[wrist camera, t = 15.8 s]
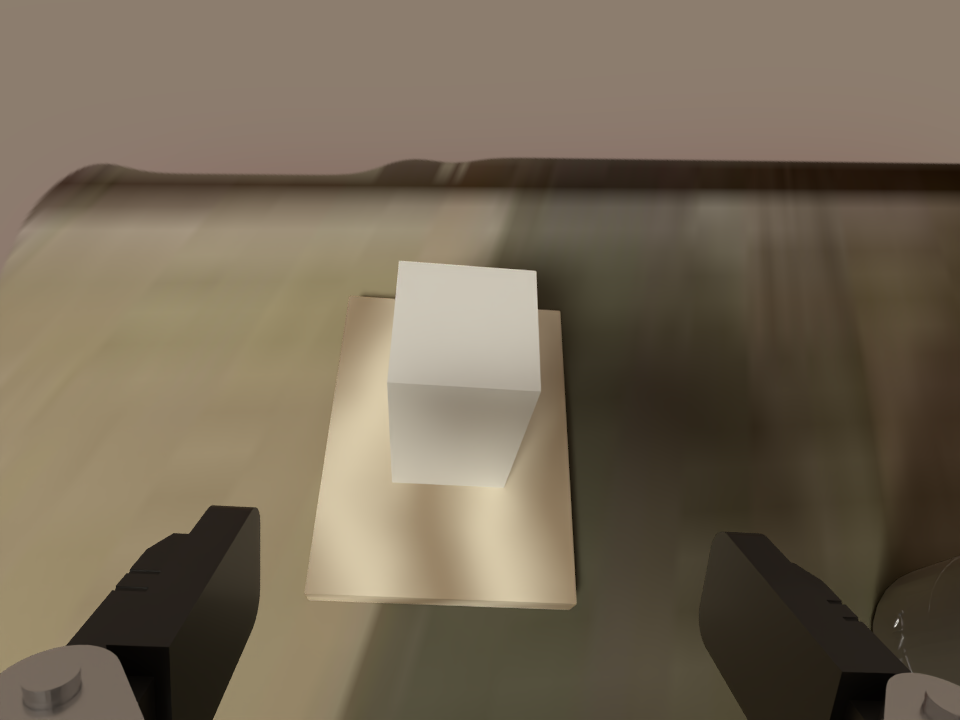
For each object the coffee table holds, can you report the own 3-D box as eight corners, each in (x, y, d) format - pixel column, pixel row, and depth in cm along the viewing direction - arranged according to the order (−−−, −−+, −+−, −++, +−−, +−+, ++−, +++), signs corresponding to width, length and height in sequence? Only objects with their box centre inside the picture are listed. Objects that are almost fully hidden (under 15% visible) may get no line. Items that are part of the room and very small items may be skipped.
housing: (503, 389, 34) (536, 271, 26) (503, 487, 31) (541, 391, 23) (400, 383, 34) (399, 260, 25) (391, 482, 31) (387, 382, 22)
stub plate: (555, 325, 38) (576, 267, 34) (569, 610, 30) (599, 585, 25) (351, 310, 37) (343, 248, 33) (308, 599, 29) (290, 572, 25)
